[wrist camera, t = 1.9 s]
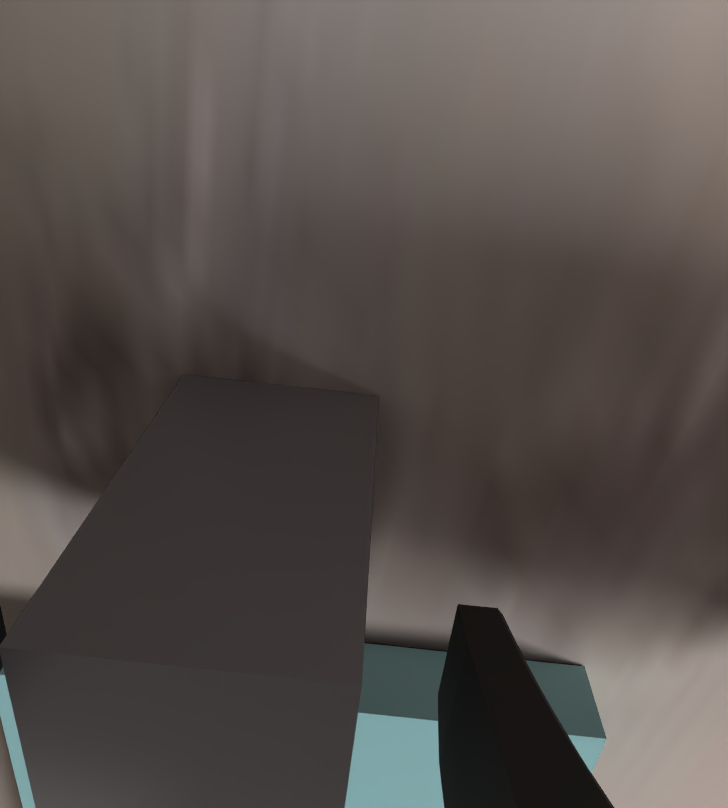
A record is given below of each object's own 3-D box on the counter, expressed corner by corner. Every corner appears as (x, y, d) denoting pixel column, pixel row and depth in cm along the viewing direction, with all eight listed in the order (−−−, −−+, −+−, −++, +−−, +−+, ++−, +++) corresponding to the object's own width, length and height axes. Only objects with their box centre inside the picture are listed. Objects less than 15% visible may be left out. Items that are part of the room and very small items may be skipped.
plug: (379, 395, 13) (362, 685, 7) (360, 547, 15) (334, 882, 9) (183, 374, 13) (-2, 647, 7) (188, 529, 15) (45, 852, 9)
